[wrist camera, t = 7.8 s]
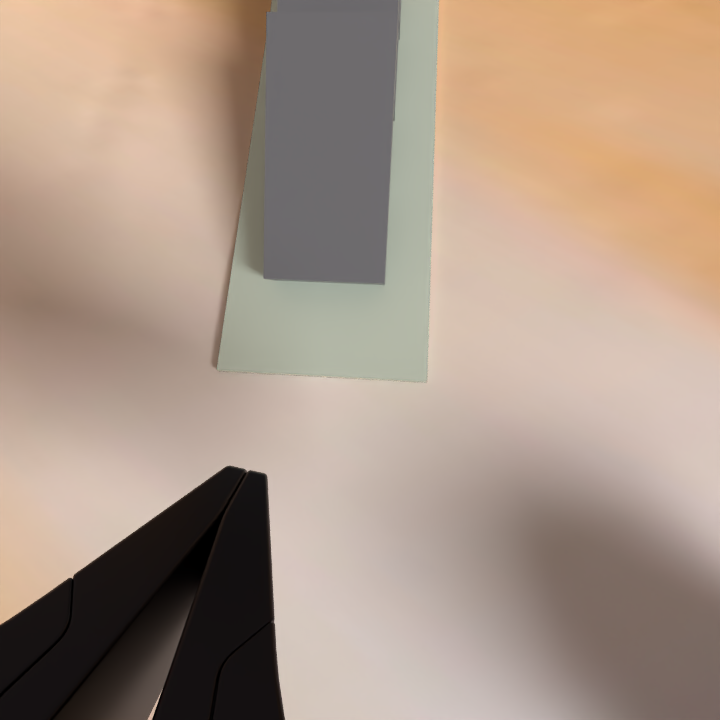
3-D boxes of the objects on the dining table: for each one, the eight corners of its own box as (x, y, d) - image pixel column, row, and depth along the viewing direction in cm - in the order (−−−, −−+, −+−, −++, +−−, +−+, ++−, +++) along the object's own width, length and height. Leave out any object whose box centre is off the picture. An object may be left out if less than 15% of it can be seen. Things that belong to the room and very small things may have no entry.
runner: (426, 382, 18) (427, 381, 18) (219, 371, 19) (216, 369, 18) (441, -119, 25) (442, -125, 25) (291, -115, 26) (290, -122, 25)
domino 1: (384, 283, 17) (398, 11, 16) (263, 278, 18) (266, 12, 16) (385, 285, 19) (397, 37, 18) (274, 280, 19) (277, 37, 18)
